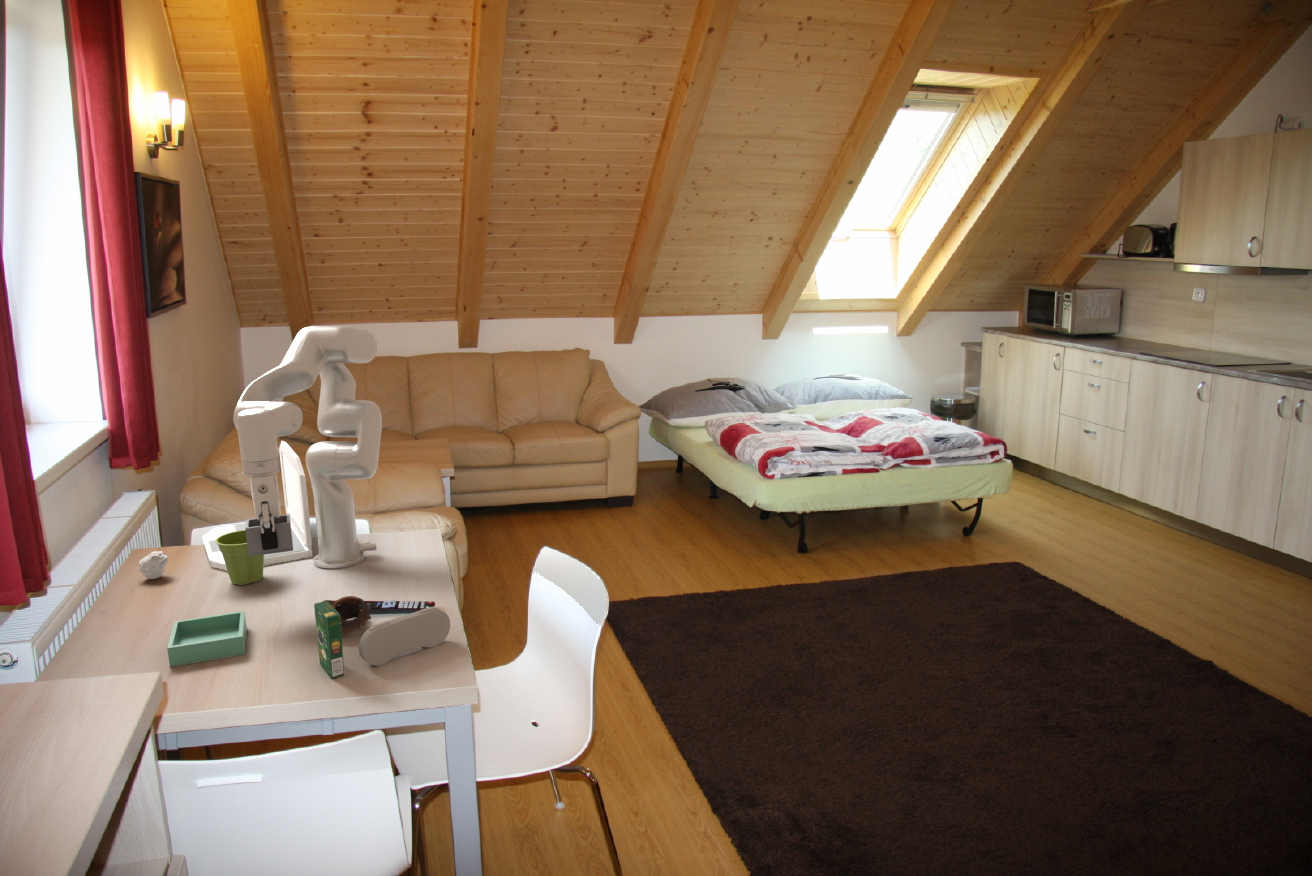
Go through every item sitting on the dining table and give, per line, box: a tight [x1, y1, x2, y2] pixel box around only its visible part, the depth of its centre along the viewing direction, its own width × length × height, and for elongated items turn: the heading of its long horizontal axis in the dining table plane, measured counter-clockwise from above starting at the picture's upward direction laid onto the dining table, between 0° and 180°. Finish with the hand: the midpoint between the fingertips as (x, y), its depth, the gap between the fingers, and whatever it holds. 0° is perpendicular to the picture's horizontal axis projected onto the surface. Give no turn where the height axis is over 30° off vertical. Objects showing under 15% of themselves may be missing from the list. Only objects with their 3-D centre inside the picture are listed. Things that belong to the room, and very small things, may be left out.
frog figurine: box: [138, 550, 169, 580], centre depth 226 cm, size 6×7×7 cm
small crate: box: [245, 513, 293, 557], centre depth 203 cm, size 9×6×6 cm
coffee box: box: [313, 600, 346, 680], centre depth 178 cm, size 8×3×13 cm, turn 36°
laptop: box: [201, 440, 314, 572], centre depth 246 cm, size 33×24×26 cm
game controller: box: [358, 606, 451, 667], centre depth 185 cm, size 20×2×8 cm, turn 133°
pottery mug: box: [322, 595, 372, 636], centre depth 197 cm, size 12×10×8 cm
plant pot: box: [215, 530, 264, 586], centre depth 224 cm, size 12×12×11 cm
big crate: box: [166, 610, 248, 668], centre depth 190 cm, size 14×14×4 cm
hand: (270, 542), depth 203 cm, fingers closed on small crate, 6 cm apart
